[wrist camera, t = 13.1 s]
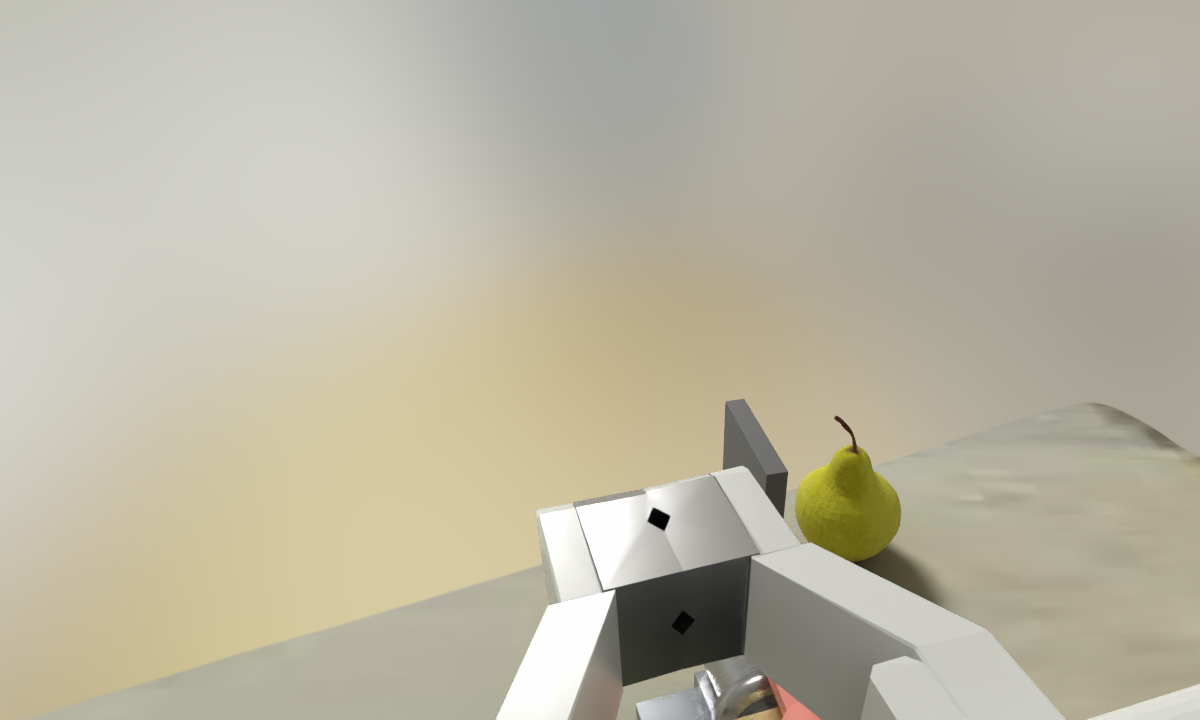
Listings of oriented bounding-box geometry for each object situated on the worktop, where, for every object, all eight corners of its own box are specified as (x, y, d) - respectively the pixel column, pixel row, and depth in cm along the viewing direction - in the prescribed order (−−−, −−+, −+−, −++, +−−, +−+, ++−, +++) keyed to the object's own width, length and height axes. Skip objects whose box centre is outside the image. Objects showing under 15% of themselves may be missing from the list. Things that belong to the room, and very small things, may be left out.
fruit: (874, 513, 54) (899, 382, 48) (906, 582, 48) (939, 443, 42) (783, 516, 54) (796, 386, 48) (804, 586, 49) (822, 448, 42)
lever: (879, 787, 29) (921, 627, 24) (797, 803, 29) (822, 645, 24) (757, 535, 42) (768, 395, 37) (699, 545, 42) (701, 405, 37)
